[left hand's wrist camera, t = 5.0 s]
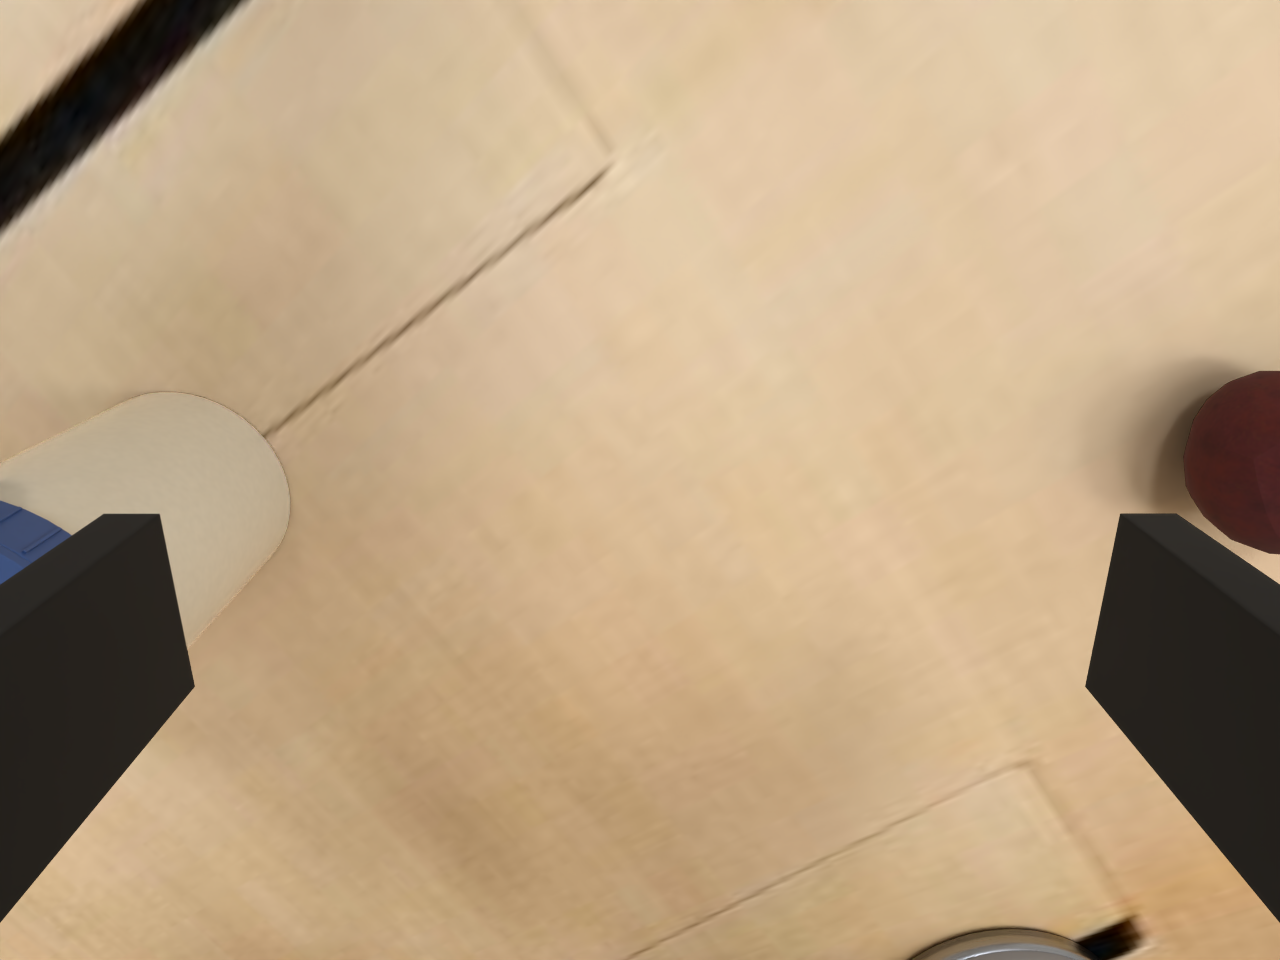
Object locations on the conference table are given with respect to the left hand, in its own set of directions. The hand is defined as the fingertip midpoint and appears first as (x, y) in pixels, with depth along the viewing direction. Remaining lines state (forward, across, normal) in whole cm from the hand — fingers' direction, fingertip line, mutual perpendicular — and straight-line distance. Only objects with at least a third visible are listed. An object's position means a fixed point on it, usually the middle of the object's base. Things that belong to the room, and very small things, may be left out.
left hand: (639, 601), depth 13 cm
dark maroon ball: (+28, +27, -6) cm, 39 cm away
